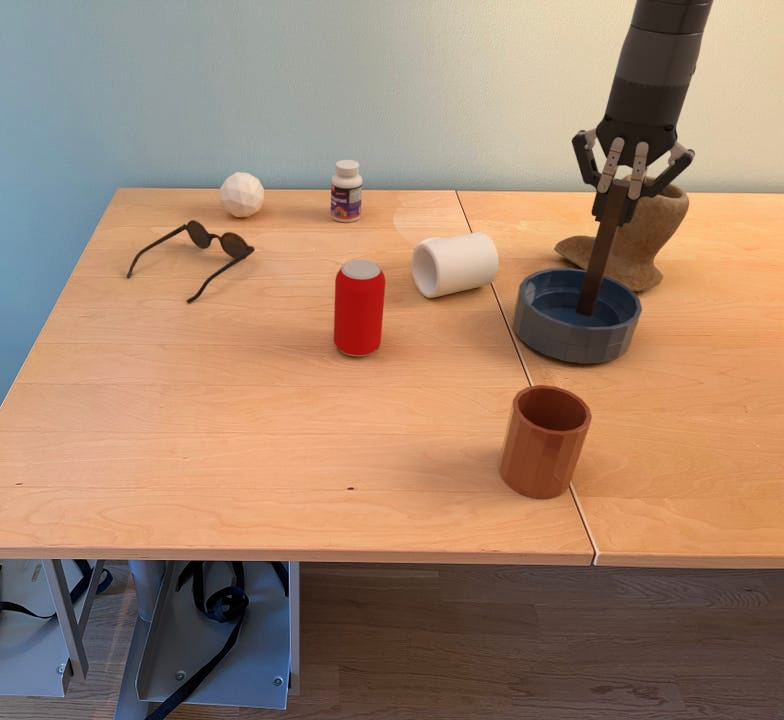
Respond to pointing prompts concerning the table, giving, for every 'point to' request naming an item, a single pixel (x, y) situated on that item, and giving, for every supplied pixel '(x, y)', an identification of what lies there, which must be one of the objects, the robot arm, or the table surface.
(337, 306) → the beverage can
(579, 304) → the stick
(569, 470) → the holder
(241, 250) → the eyeglasses
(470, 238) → the mug
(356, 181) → the pill bottle
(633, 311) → the bowl
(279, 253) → the table surface
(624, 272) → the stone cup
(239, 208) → the geometric ball
